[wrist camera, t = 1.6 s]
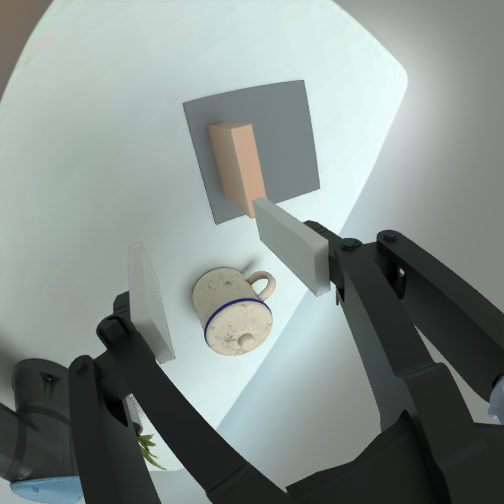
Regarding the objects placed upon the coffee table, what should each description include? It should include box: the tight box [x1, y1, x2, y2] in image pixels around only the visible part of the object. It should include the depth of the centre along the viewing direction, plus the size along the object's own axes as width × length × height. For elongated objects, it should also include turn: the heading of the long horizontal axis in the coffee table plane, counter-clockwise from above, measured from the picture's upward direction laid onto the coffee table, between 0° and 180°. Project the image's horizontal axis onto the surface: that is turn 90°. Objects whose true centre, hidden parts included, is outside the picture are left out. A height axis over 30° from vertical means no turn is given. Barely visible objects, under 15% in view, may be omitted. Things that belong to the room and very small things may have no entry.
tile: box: [207, 122, 267, 219], centre depth 30 cm, size 2×9×9 cm, turn 12°
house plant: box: [126, 397, 166, 470], centre depth 38 cm, size 14×14×16 cm
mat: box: [183, 80, 320, 225], centre depth 35 cm, size 16×16×1 cm
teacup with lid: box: [192, 268, 276, 356], centre depth 38 cm, size 12×9×12 cm
